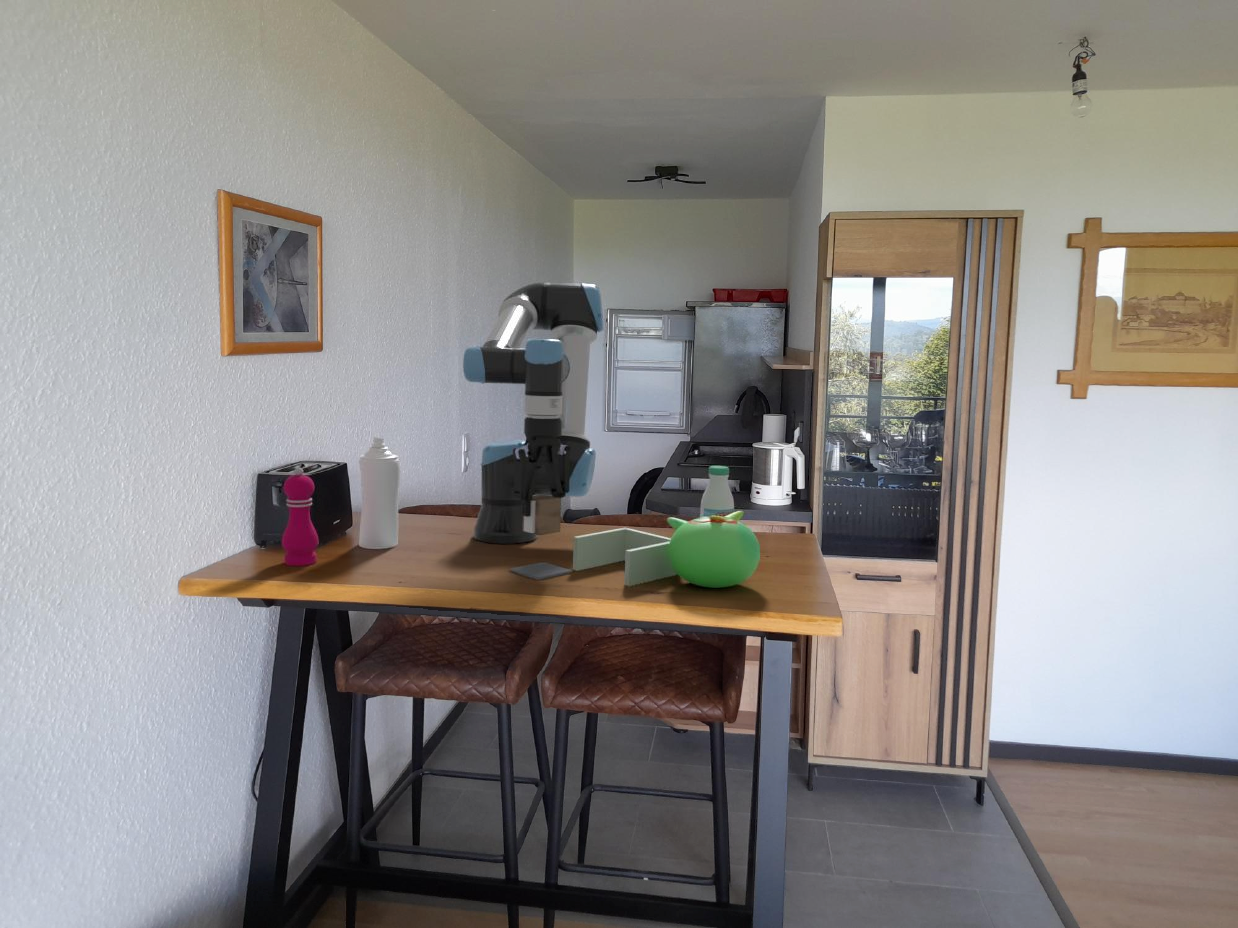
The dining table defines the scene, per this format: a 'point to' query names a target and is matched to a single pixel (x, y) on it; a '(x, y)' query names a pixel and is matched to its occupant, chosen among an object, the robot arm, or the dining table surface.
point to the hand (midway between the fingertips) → (541, 529)
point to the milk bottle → (717, 494)
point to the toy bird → (713, 550)
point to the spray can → (379, 497)
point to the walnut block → (546, 515)
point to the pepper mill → (299, 521)
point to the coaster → (540, 570)
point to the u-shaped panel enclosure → (625, 553)
